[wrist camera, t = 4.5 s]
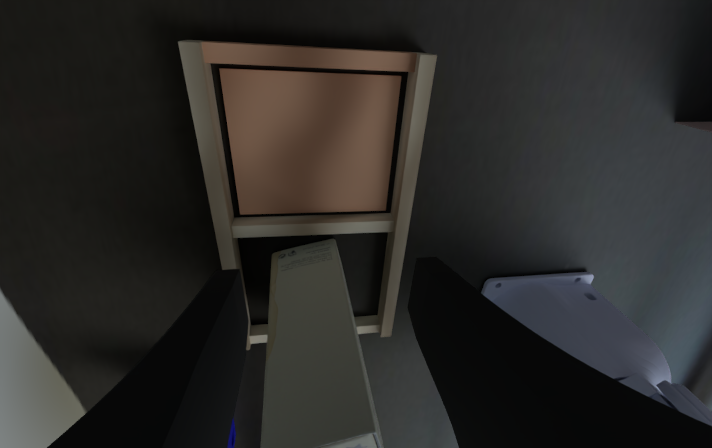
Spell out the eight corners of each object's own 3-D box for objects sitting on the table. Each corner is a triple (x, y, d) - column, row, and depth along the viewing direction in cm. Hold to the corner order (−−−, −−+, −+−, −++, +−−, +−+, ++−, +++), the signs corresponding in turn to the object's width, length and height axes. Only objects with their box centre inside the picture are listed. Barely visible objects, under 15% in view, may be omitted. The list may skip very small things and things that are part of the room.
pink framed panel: (426, 52, 17) (437, 55, 15) (386, 321, 26) (391, 336, 25) (187, 39, 15) (177, 41, 13) (240, 333, 25) (238, 350, 23)
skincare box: (270, 250, 21) (248, 463, 11) (337, 235, 21) (378, 429, 11) (296, 316, 25) (297, 526, 14) (353, 302, 25) (395, 499, 15)
